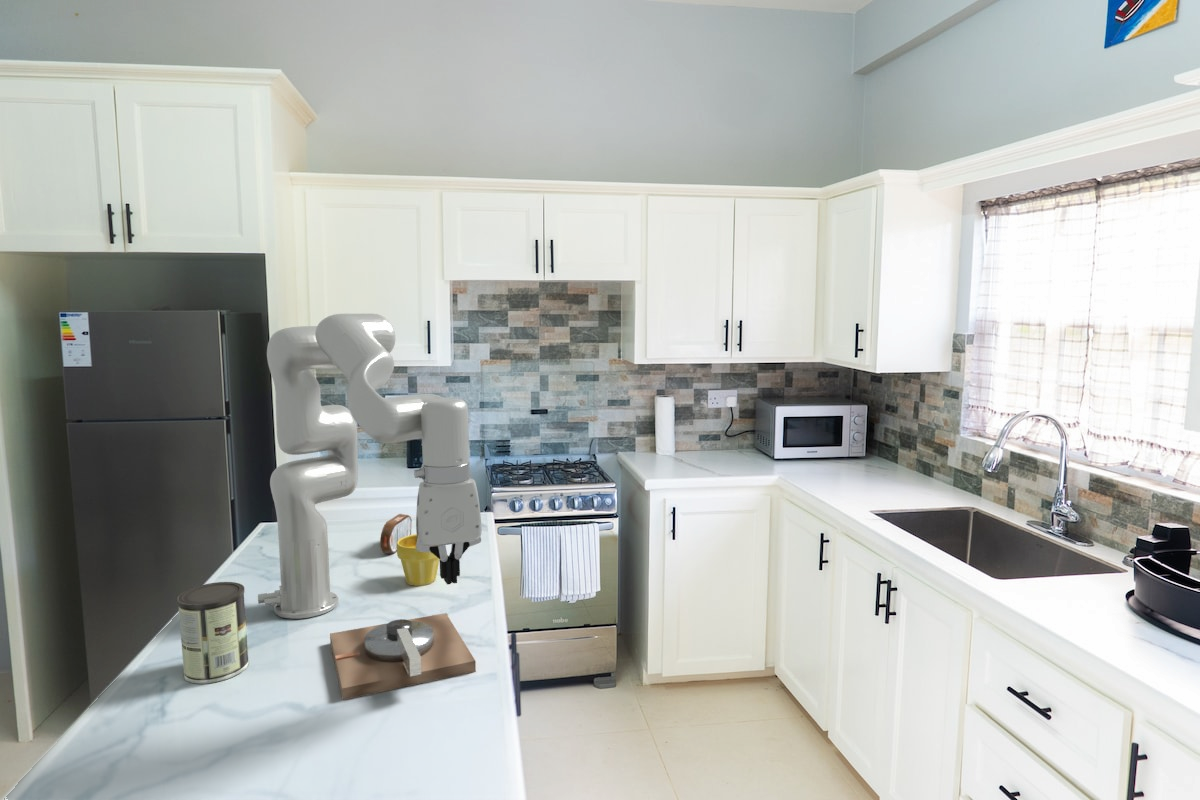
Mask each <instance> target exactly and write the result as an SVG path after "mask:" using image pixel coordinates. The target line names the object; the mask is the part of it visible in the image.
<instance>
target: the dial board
mask: <svg viewBox="0 0 1200 800" xmlns="http://www.w3.org/2000/svg"><path fill="white" fill-rule="evenodd" d="M408 620H409V621H417V622H422V623H425V624H427V625H429V626H431V627H432V629H433V636H434V644H433V646H432V648H431V649H430V650H429V651H427V652H426V653H424V654H422V655H420V656H421V674H420V675H415V676H410V675H409V673H408V670H407V668H406V665H405V663H404V661H392V662H390V661H379V660H375V659H372V658H370V657H369V656H368V655H367V654H366V652H365V636H366V635H367V634H368V633H369V632H370V631H371V630H373V629H375V628H377V627H379V626H381V625H384V624H385V623H384V624H377V625H372V626H371V625H370V626H366V627H360V628H359V627H358V628H353V629H348V630H342V631H338V632H337V631H336V632H331V633H330V634H329V639H330V648H331V652H332V656H333V661H334V666H335V670H336V675H337V680H338V681H337V682H338V685H339V688H340V694H341V698H342V699H341V700H342V701H345V700H350V699H355V698H359V697H363V696H364V697H365V696H369V695H373V694H378V693H381V692H386V691H391V690H396V689H401V688H406V687H411V686H415V685H420V684H424V683H430V682H433V681H439V680H443V679H446V678H447V679H448V678H452V677H457V676H460V675H461V676H463V675H466V674H470V673H476V672H477V671H476V670H477V667H476V664H477V663H476V659H475V658H474V656H473V655H472V653H471V652H470V650H469V648H468V646H467V645H466V643H465V642H464V640H463V638H462V636H461V635H460V633H459V632H458V630H457V629H456V627H455V626H454V624H453V622H452V621H451V619H450V618H449V616H448V614H447V613H446V612H444V613H439V614H434V615H427V616H422V617H417V618H416V617H415V618H410V619H408ZM388 623H389V622H388ZM388 623H386V624H388Z"/></svg>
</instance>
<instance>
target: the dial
mask: <svg viewBox="0 0 1200 800" xmlns="http://www.w3.org/2000/svg"><path fill="white" fill-rule="evenodd" d="M409 620H410V619H394V620H391V621H390V622H388V624H387V623H384V625H381V624H380V625H381V626H379V627H377V628H375V629H373V630H371V631H370V632H369V633H368V634H367V635H366V636H365V652H366V654H367V655H368V656H369V657H370V658H372V659H375V660H379V661H390V662H392V661H404V663H405V665H406V668H407V670H408V673H409V675H410V676H415V675H420V674H421V656H420V655H422V654H424V653H426V652H427V651H429V650H430V649H431V648H432V646H433V644H434V636H433V629H432V627H431V626H429V625H427V624H425V623H422V622H417V621H409Z"/></svg>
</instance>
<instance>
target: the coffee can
mask: <svg viewBox="0 0 1200 800" xmlns="http://www.w3.org/2000/svg"><path fill="white" fill-rule="evenodd" d="M176 602H177V605H178V615H179V616H178V618H179V627H180V640H181V642H180V643H181V653H182V654H181V655H182V664H183V678H184V680H185V681H187V682H188V683H192V684H198V685H199V684H201V685H202V684H203V685H205V684H213V683H218V682H219V683H220V682H222V681H226V680H228V679H231V678H233V677H236V676H238V675H240V674H241V673H242V672H244V671H245V670H246V669H247V668H248V666H249V665H250V659H249V650H248V648H249V647H248V636H247V624H246V620H247V619H246V605H245V586H244V585H243V584H242V583H238V582H235V581H234V582H233V581H219V582H217V581H216V582H210V583H205V584H200V585H197V586H194V587H191V588H188V589H187V590H185V591H183V592H181V593H180V594H179V595H178V596H177V599H176Z"/></svg>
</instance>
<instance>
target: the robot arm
mask: <svg viewBox="0 0 1200 800" xmlns="http://www.w3.org/2000/svg"><path fill="white" fill-rule="evenodd" d="M395 345H396V331H395V328H394V326H393V325H392V324H391V322H390V320H389V319H387V318H386V317H384V316H383V315H382V314H381V315H380V314H378V313H335V314H332V315H329V316H327V317H325V318H323V319H322V320H320V321H319V323H318V324H317V325H313V326H312V325H308V326H306V325H305V326H304V325H303V326H301V325H300V326H291V327H286V328H285V327H284V328H282V329H280V330H277V331H275V332H274V333H273V334H272V335H271V337H270V338H269V340H268V343H267V347H266V348H267V349H266V360H267V365H268V368H269V372H270V375H271V378H272V381H273V385H274V391H275V392H274V393H275V416H276V417H275V421H276V437H277V444H278V447H279V449H280V450H281V452H283V453H284V454H286V455H292V456H293V455H294V456H297V455H308V454H312V453H313V454H315V453H320V452H326V451H327V453H326V454H327V455H322V456H318V457H316V456H315V457H309V458H303V459H298V460H297V459H296V460H292V461H289V462H286V463H283V464H280V465H279V466H277V467H276V468H275V469H274V470H273V471H272V473H271V475H270V479H269V487H270V493H271V495H272V500H273V502H274V508H275V513H276V520H277V521H276V523H277V535H278V536H277V537H278V552H279V553H278V555H279V568H280V570H279V571H280V572H279V573H280V585H279V588H278V590H274V592H270V593H269V592H268V593H267V592H266V593H258V594H257V604H259V605H260V604H264V607H266V606H272V605H274V607H273V610H274V613H275V615H276V616H278V617H280V618H283V619H293V620H294V619H307V618H312V617H317V616H321V615H323V614H326V613H329V612H330V611H332V610H334V609H335V608H336V607H337V606H338V604H339V596H338V595H337V594H336V593H335V592H332V591H331V584H330V583H331V581H330V580H331V579H330V558H329V555H330V554H329V538H328V537H329V536H328V535H329V534H328V524H327V520H326V519H325V517H324V516H323V515H322V514H321V513H320V512H319V511H318V509H317V508H316V505H317V504H320V503H322V502H327V501H328V502H329V501H334V500H338V499H342V498H345V497H348V496H349V495H351V494H352V493H354V491H355V490H356V488H357V486H358V479H359V460H358V459H359V456H358V455H359V454H358V453H359V452H358V451H359V450H358V447H359V446H358V428H357V424H358V426H359V427H361V429H362V430H363V431H364V432H365V433H366V435H368V436H369V437H370V438H372V440H374V441H376V442H378V443H381V444H394V443H401V442H405V441H406V442H407V441H413V440H421V451H422V464H421V466H420V468H418V469H414V471H413V477H414V478H415V479H422V481H421V482H420V483H419V486H418V492H417V498H416V500H417V501H416V512H415V513H416V515H415V516H416V518H415V527H416V528H415V529H416V530H415V531H416V534H417V537H418V538H417V543H416V549H417V550H418V551H419V552H431V553H433V554H434V555H435V556H436V557H438V558H439V576H440V578H441V579H443V581H444V582H445V584H446V585H451V584H457V583H458V577H460V576H461V570H460V569H461V566H460V563H461V562H460V560H461V559H462V557H463V554H464V553H465V552H466V551H467V550H468V548H470V547H473V546H475V545H478V544H480V543H481V542H482V538H481V536H482V530H483V529H482V527H483V526H482V515H481V508H480V507H481V506H480V499H479V493H478V488H477V483H476V480H475V479H473V478H471V467H470V466H471V465H470V463H471V462H470V440H469V439H470V437H469V436H470V429H469V408H468V404H467V402H466V401H464V400H463V399H461V398H452V397H443V396H441V395H438V394H435V393H420V394H408V395H401V396H400V395H399V396H391V397H383V396H382V395H380V394H379V392H377V390H378V389H380V388H381V387H383V386H384V385H385V384H386V383H387V382H388V381H390V378H391V376H392V374H393V373H394V369H395V360H394V359H393V355H392V354H391V352H393V349H394V348H395ZM317 369H318V370H326V369H338V370H339V371H340V372H341V373H342V374H343V376H345V378H346V379H347V380H348V383H347V390H346V400H347V405H348V407H346V406H344V405H341V404H327V405H322V403H321V402H322V401H321V393H322V392H321V386H320V382H319V381H318V379H317V378H316V377H315V375H314V374H313V373H312V372H311V371H310V370H317ZM448 545H449V546H450V545H451V549H450V552H449V555H448V552H447V546H448Z"/></svg>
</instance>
